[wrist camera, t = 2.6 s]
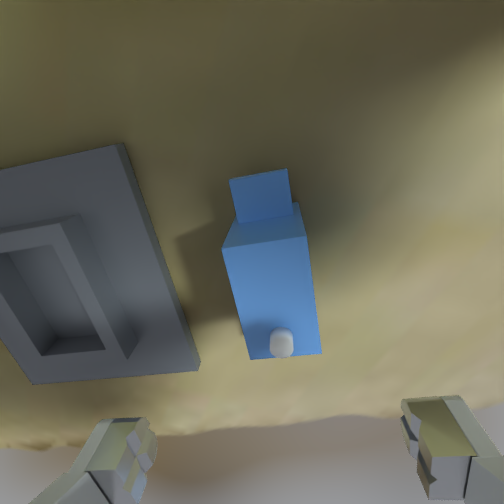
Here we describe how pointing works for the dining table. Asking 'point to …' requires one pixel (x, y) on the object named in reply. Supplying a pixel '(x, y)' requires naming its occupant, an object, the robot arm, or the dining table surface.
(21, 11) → the dining table surface
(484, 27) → the dining table surface
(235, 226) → the servo block
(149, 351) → the plate
